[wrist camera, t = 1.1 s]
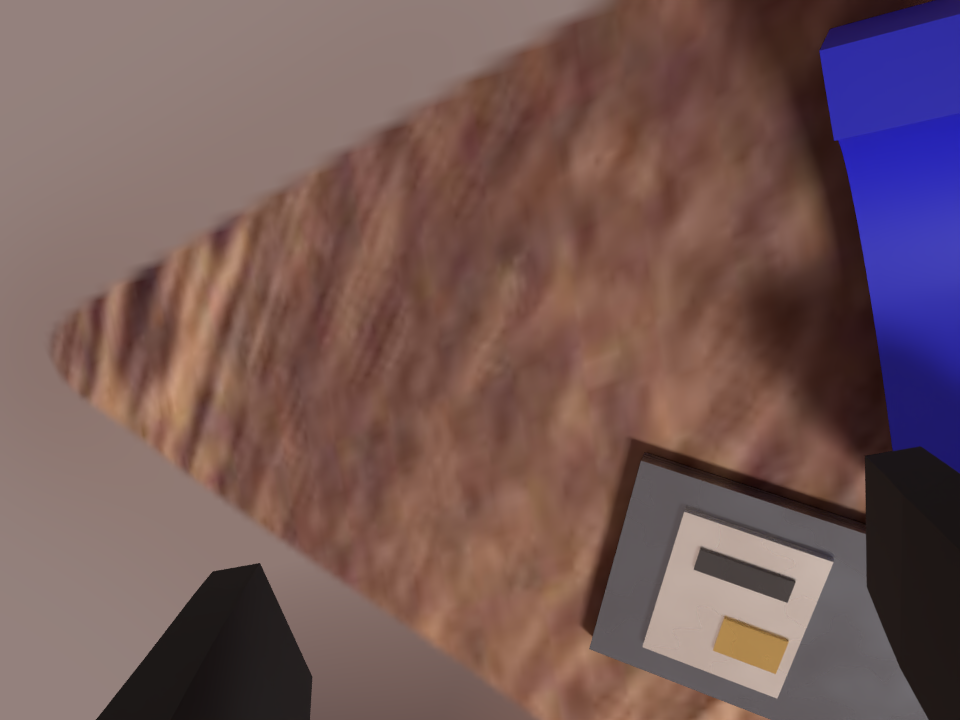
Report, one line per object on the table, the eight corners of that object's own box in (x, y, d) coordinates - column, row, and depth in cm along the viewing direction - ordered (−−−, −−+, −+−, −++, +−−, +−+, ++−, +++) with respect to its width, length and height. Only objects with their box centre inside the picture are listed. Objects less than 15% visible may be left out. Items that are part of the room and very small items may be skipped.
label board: (1257, 651, 22) (1271, 673, 21) (1120, 842, 25) (1128, 866, 24) (644, 452, 26) (638, 465, 25) (593, 638, 29) (586, 655, 28)
